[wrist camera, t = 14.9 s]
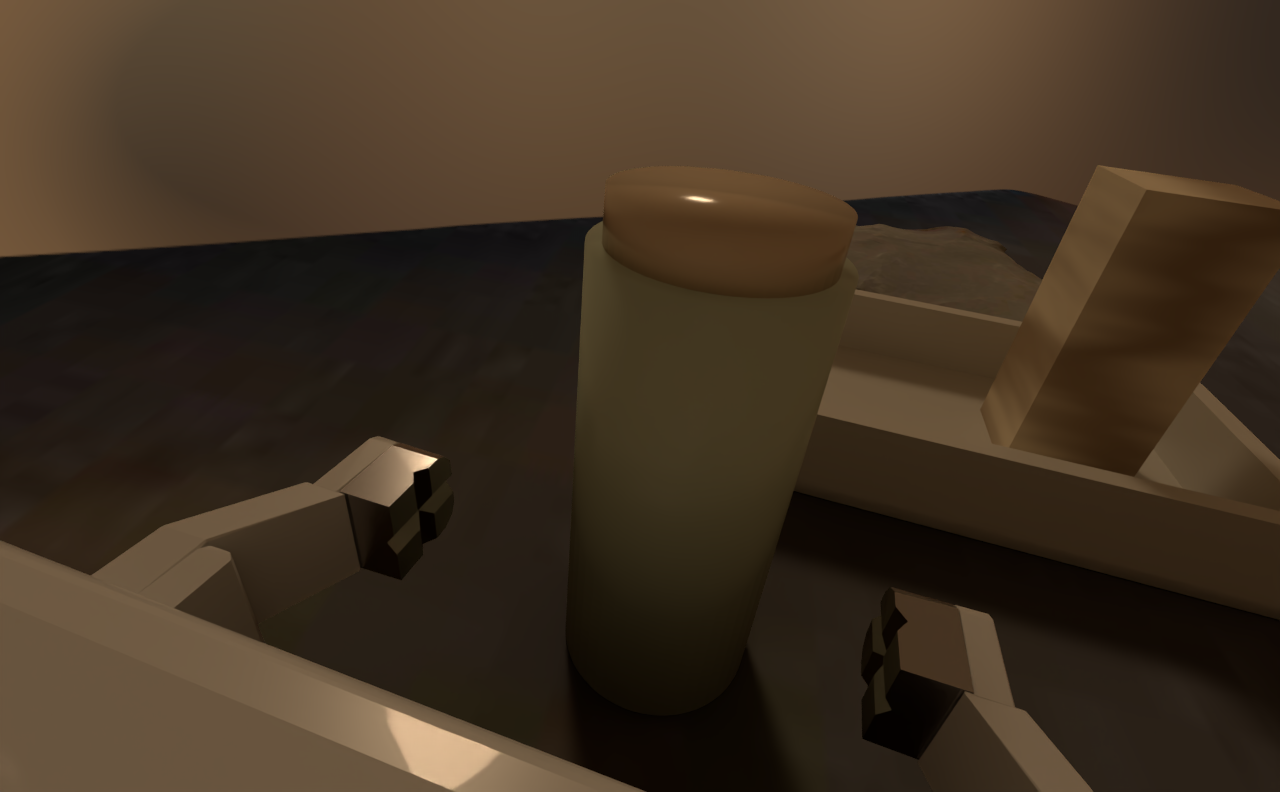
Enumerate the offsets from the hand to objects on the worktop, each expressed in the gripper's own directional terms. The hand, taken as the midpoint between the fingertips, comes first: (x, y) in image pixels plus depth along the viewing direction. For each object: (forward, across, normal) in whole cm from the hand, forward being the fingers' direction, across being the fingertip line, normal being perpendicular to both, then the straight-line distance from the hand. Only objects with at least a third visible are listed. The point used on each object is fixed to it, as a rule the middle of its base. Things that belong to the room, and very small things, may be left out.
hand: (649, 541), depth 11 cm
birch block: (+18, -13, +6) cm, 23 cm away
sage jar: (+3, 0, +6) cm, 7 cm away
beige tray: (+18, -7, +6) cm, 20 cm away
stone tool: (+35, -12, +7) cm, 38 cm away
